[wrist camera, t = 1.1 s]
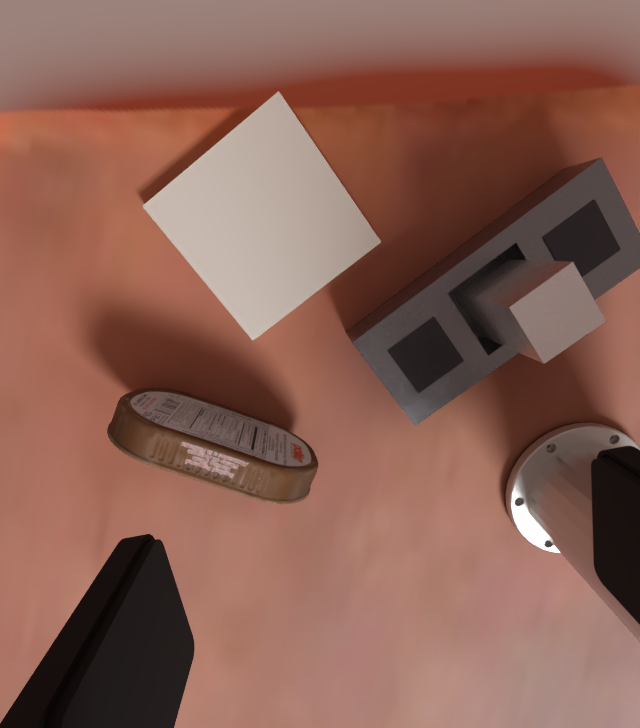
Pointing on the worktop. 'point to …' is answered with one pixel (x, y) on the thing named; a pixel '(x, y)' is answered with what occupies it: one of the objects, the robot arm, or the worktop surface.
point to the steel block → (528, 305)
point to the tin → (213, 445)
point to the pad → (263, 218)
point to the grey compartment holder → (496, 241)
